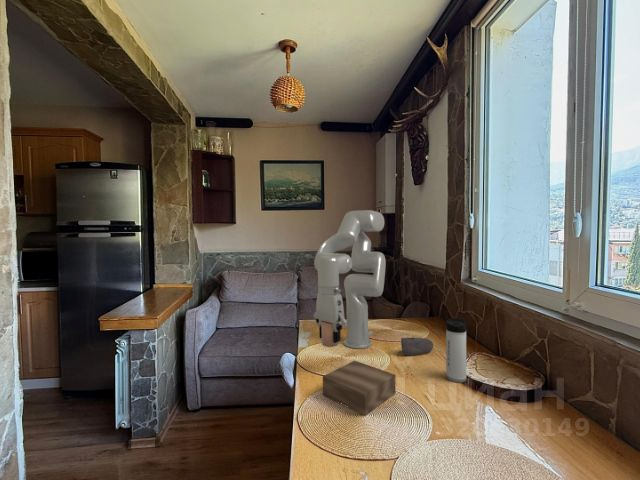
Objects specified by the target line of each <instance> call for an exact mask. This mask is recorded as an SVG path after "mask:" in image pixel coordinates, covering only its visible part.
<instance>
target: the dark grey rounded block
mask: <svg viewBox="0 0 640 480" xmlns="http://www.w3.org/2000/svg"><path fill="white" fill-rule="evenodd" d="M400 345H401V352H402V355H404V356H419V355H424V354H428V353H429V352H432V350H433V349H434V343H433V341H432V340H431V339H428V338H423V337H401V338H400Z"/></svg>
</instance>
